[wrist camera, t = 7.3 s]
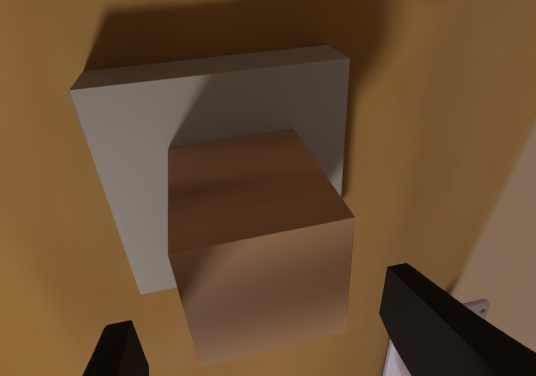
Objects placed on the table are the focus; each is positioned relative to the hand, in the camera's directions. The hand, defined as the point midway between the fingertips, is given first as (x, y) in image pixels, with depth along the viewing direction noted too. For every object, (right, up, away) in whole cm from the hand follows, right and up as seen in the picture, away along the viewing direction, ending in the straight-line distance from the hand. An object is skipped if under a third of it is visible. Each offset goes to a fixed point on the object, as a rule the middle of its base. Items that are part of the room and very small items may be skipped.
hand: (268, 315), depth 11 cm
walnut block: (-1, +3, +5) cm, 7 cm away
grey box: (-2, +5, +8) cm, 10 cm away
